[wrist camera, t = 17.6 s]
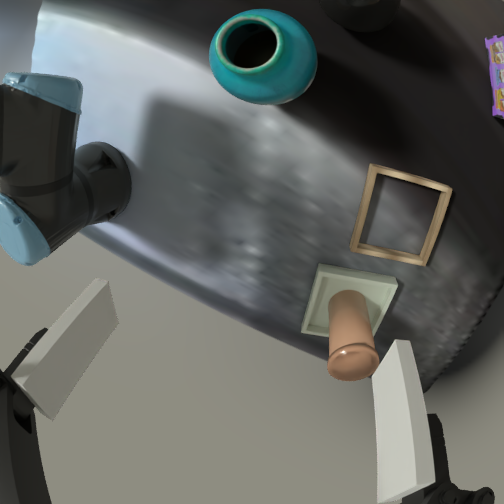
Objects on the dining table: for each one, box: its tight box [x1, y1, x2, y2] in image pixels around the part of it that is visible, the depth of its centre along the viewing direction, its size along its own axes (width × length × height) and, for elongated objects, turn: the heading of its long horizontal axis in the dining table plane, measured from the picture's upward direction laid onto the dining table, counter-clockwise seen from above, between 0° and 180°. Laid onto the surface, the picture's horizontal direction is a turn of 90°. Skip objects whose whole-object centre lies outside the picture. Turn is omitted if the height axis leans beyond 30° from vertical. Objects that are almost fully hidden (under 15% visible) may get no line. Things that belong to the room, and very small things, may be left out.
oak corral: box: [349, 163, 453, 266], centre depth 39 cm, size 14×14×2 cm
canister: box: [328, 290, 379, 381], centre depth 43 cm, size 8×8×14 cm
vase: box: [209, 9, 317, 105], centre depth 25 cm, size 11×11×19 cm
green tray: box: [301, 263, 398, 337], centre depth 48 cm, size 14×14×2 cm
